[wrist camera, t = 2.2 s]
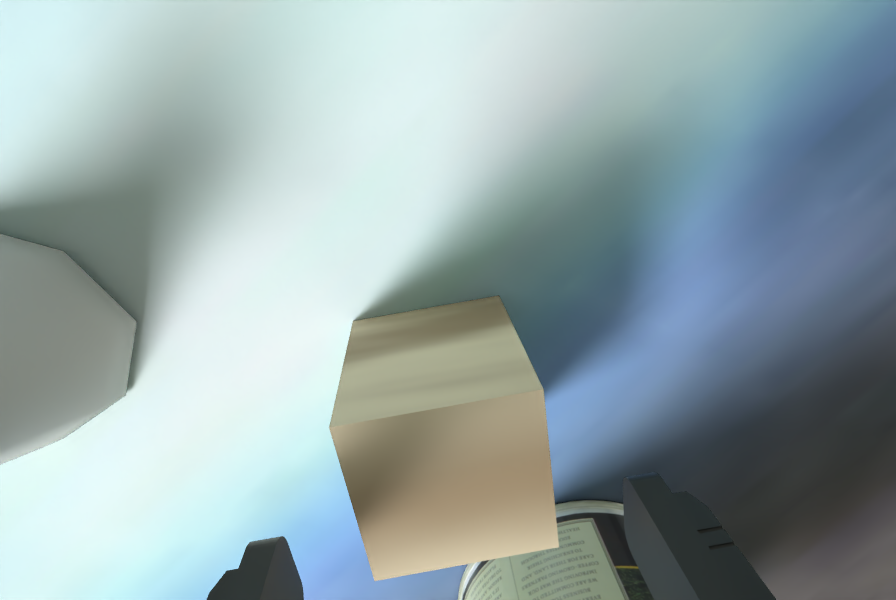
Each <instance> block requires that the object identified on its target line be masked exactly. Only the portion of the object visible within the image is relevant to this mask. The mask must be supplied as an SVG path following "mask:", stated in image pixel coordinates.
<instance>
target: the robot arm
mask: <svg viewBox="0 0 896 600" xmlns="http://www.w3.org/2000/svg"><path fill="white" fill-rule="evenodd" d="M623 509H624V529H625V535H626V539H627V543H628V546H629V549H630V551H631V554H632V556H633V558H634V560H635V562H636V564H637V566H638V568H639V570H640V572H641V574H642V576H643V578H644V580H645V582H646V584H647V586H648V588H649V590H650V592H651V594H652V596H653V598H654V600H776V598H775V597H774V596H773V594H772V593H771V592H770V590H769V589H768V588H767V586H766V585H765V584H764V582H763V581H762V580H761V578H760V577H759V576H758V574H757V573H756V572H755V570H754V569H753V568H752V566H751V565H750V563H749V562H748V561H747V559H746V558H745V557H744V555H743V554H742V553H741V551H740V550H739V549H738V547H737V546H735V545H734V543H733V541H732V539H731V538H730V537H729V535H728V534H727V533H726V531H725V530H723V529H722V526H721V524H720V523H719V522H718V520H717V519H716V518H715V516H714V515H713V514H712V512H711V511H710V510H709V508H708V507H707V506H706V505H704V504H703V503H702V502H700V501H699V500H697V499H696V498H694V497H693V496H692V495H690V494H689V493H687V492H686V491H685V492H679V493H674V494H672V493H671V491H670V490H669V488H668V487H667V485H666V484H665V482H664V481H663V479H662V478H661V477H660V475H659V474H658V473H656V472H653V473H647V474H642V475H636V476H630V477H625V478H624V479H623ZM207 600H304V597H303V587H302V582H301V579H300V576H299V574H298V571H297V568H296V565H295V562H294V560H293V557H292V554H291V551H290V548H289V546H288V543H287V540H286V539H285V538H284V537H283V536H281V537H276V538H270V539H264V540H258V541H253V542H250V543H249V544H248V545H247V547H246V549H245V552H244V555H243V558H242V560H241V563H240V566H239V568H238V569H234V570H229V571H226V572H225V574H224V575H223V576H222V578H221V579H220V580H219V581H218V583H217V584H216V585H215V586H214V588H213V589H212V590H211V591H210V593H209V595H208V598H207Z"/></svg>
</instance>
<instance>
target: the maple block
mask: <svg viewBox="0 0 896 600" xmlns="http://www.w3.org/2000/svg"><path fill="white" fill-rule="evenodd" d="M329 428H330V432H331V435H332V439H333V442H334V445H335V449H336V452H337V455H338V459H339V462H340V466H341V469H342V472H343V476H344V479H345V482H346V486H347V489H348V493H349V496H350V499H351V503H352V506H353V509H354V513H355V516H356V520H357V523H358V526H359V530H360V533H361V536H362V540H363V543H364V547H365V550H366V553H367V557H368V560H369V563H370V567H371V570H372V574H373V577H374V580H375V581H378V580H383V579H388V578H394V577H399V576H405V575H410V574H416V573H421V572H426V571H432V570H437V569H443V568H448V567H454V566H459V565H465V564H470V563H475V562H481V561H486V560H492V559H497V558H503V557H508V556H513V555H519V554H524V553H530V552H535V551H541V550H546V549H551V548H557V547H559V542H558V532H557V522H556V511H555V501H554V491H553V481H552V471H551V460H550V450H549V440H548V430H547V420H546V409H545V399H544V389H543V387H542V385H541V383H540V381H539V379H538V377H537V374H536V372H535V370H534V368H533V366H532V364H531V362H530V360H529V358H528V355H527V353H526V351H525V349H524V347H523V345H522V343H521V341H520V339H519V336H518V334H517V332H516V330H515V328H514V326H513V324H512V322H511V320H510V318H509V315H508V313H507V311H506V309H505V307H504V305H503V303H502V301H501V299H500V296H493V297H487V298H482V299H476V300H470V301H464V302H459V303H453V304H447V305H442V306H436V307H430V308H425V309H419V310H413V311H407V312H402V313H396V314H390V315H385V316H379V317H373V318H368V319H362V320H356V321H353V323H352V328H351V332H350V337H349V341H348V346H347V350H346V355H345V359H344V364H343V368H342V373H341V377H340V382H339V386H338V391H337V395H336V400H335V404H334V408H333V413H332V417H331V422H330V426H329Z"/></svg>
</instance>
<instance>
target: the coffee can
mask: <svg viewBox="0 0 896 600" xmlns="http://www.w3.org/2000/svg"><path fill="white" fill-rule="evenodd" d="M555 511H556V522H557V532H558V542H559V547H557V548H551V549H546V550H541V551H535V552H530V553H524V554H519V555H513V556H508V557H503V558H497V559H492V560H486V561H481V562H475V563H470V564H468V565H467V567H466V569H465V571H464V574H463V576H462V579H461V583H460V588H459V596H458V600H654V598H653V596H652V594H651V592H650V590H649V588H648V586H647V584H646V582H645V580H644V578H643V576H642V574H641V572H640V570H639V568H638V566H637V564H636V562H635V560H634V558H633V556H632V554H631V551H630V549H629V546H628V543H627V539H626V535H625V529H624V509H623V504H621V503H616V502H610V501H600V500H580V501H570V502H566V503H560V504H555Z"/></svg>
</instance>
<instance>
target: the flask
mask: <svg viewBox="0 0 896 600" xmlns="http://www.w3.org/2000/svg"><path fill="white" fill-rule="evenodd" d="M136 325H137V321H136V320H135V319H133V318H132V317H131V316H130V315H129V314H128V313H127V312H126V311H125V310H124V309H123V308H122V307H121V306H120V305H119V304H118V303H117V302H116V301H115V300H114V299H113V298H112V297H111V296H110V295H109V294H108V293H107V292H106V291H104V290H103V289H102V288H101V287H100V286H99V285H98V284H97V283H96V282H95V281H94V280H93V279H92V278H91V277H90V276H89V275H88V274H87V273H86V272H85V271H84V270H83V269H82V268H81V267H80V266H79V265H78V264H77V263H75V262H74V261H73V260H72V259H71V258H70V257H69V256H68V255H67V254H66V253H65V252H64V251H61V250H57V249H54V248H50V247H47V246H43V245H39V244H36V243H32V242H28V241H25V240H21V239H18V238H14V237H10V236H7V235H3V234H0V465H1V464H3V463H6V462H8V461H11V460H13V459H16V458H18V457H21V456H23V455H25V454H28V453H30V452H33V451H35V450H38V449H40V448H43V447H45V446H47V445H50V444H52V443H54V442H56V441H59V440H61V439H63V438H65V437H67V436H68V435H69V434H71V433H72V432H74V431H75V430H77V429H78V428H80V427H81V426H82V425H84V424H85V423H87V422H88V421H90V420H91V419H92V418H94V417H95V416H97V415H98V414H100V413H101V412H103V411H104V410H105V409H107V408H108V407H110V406H111V405H113V404H114V403H116V402H117V401H118V400H120V399H121V398H123V397H124V396H126V390H127V384H128V377H129V371H130V364H131V358H132V351H133V344H134V338H135V331H136Z"/></svg>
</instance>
